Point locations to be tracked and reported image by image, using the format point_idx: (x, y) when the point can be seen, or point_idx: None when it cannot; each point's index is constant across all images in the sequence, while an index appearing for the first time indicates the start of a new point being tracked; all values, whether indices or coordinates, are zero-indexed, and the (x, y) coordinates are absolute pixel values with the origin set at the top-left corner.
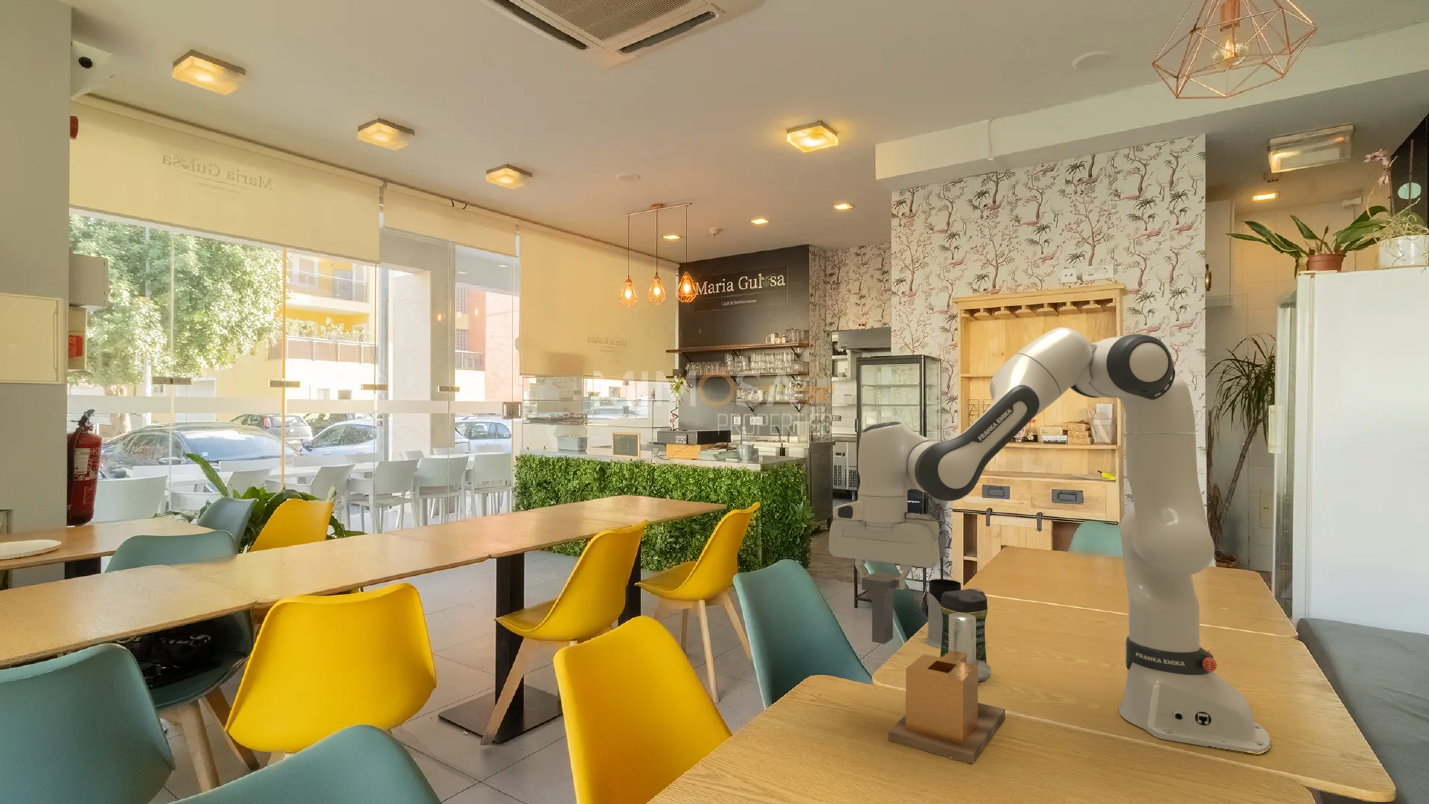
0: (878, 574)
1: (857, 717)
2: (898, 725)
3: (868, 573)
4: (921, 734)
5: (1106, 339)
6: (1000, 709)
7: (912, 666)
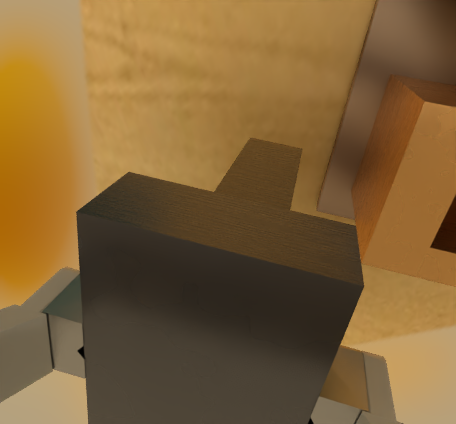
0: (134, 321)
1: (239, 123)
2: (334, 175)
3: (55, 317)
4: None
5: None
6: None
7: (381, 243)
